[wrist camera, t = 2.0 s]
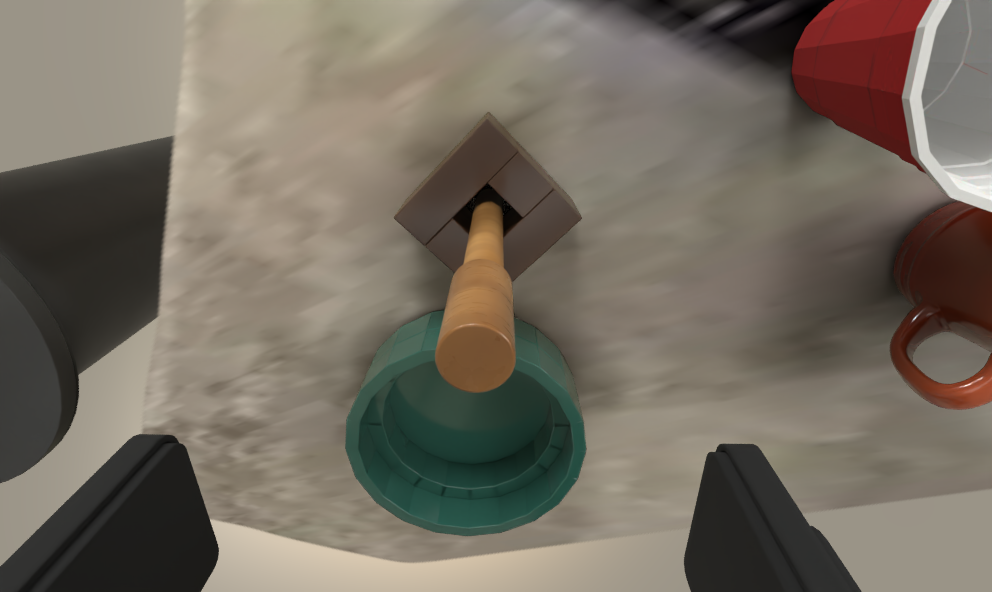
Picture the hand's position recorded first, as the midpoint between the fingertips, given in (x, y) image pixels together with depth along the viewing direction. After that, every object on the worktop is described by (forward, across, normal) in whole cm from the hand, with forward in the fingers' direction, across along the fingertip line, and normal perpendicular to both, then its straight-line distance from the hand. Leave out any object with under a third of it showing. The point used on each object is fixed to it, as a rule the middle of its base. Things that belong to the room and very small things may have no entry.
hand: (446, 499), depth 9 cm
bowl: (+23, +2, +14) cm, 27 cm away
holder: (+23, 0, 0) cm, 23 cm away
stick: (+23, 0, 0) cm, 23 cm away
